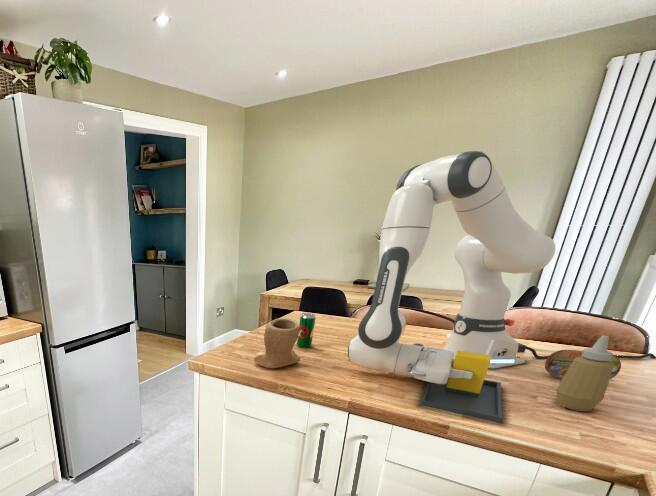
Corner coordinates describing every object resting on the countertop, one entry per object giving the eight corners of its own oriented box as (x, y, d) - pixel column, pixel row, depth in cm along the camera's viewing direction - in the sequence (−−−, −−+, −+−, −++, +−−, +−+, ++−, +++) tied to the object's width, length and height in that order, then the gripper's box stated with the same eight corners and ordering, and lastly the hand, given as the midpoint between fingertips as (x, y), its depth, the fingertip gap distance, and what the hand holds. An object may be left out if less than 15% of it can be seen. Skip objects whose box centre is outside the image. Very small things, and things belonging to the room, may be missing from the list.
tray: (430, 376, 117) (431, 370, 117) (498, 388, 108) (500, 382, 108) (419, 407, 99) (420, 400, 99) (500, 425, 90) (502, 418, 89)
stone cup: (273, 374, 121) (278, 327, 115) (248, 363, 131) (252, 318, 125) (310, 366, 127) (317, 320, 121) (283, 355, 137) (289, 312, 131)
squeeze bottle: (541, 400, 101) (570, 332, 94) (570, 398, 102) (601, 330, 94) (576, 415, 94) (609, 342, 87) (607, 413, 94) (643, 340, 87)
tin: (543, 377, 115) (554, 349, 111) (538, 373, 117) (549, 346, 114) (614, 384, 109) (628, 355, 106) (607, 380, 112) (620, 352, 108)
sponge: (446, 384, 110) (457, 350, 106) (478, 390, 106) (490, 355, 102) (445, 390, 107) (456, 355, 103) (478, 396, 103) (490, 360, 99)
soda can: (312, 348, 143) (317, 315, 139) (297, 348, 144) (302, 315, 139) (309, 344, 148) (314, 312, 143) (295, 343, 149) (299, 312, 144)
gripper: (407, 360, 103) (475, 372, 95) (418, 341, 118) (477, 349, 109) (402, 383, 105) (467, 395, 97) (413, 361, 120) (470, 371, 112)
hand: (472, 371), depth 104 cm, fingers open, 5 cm apart
